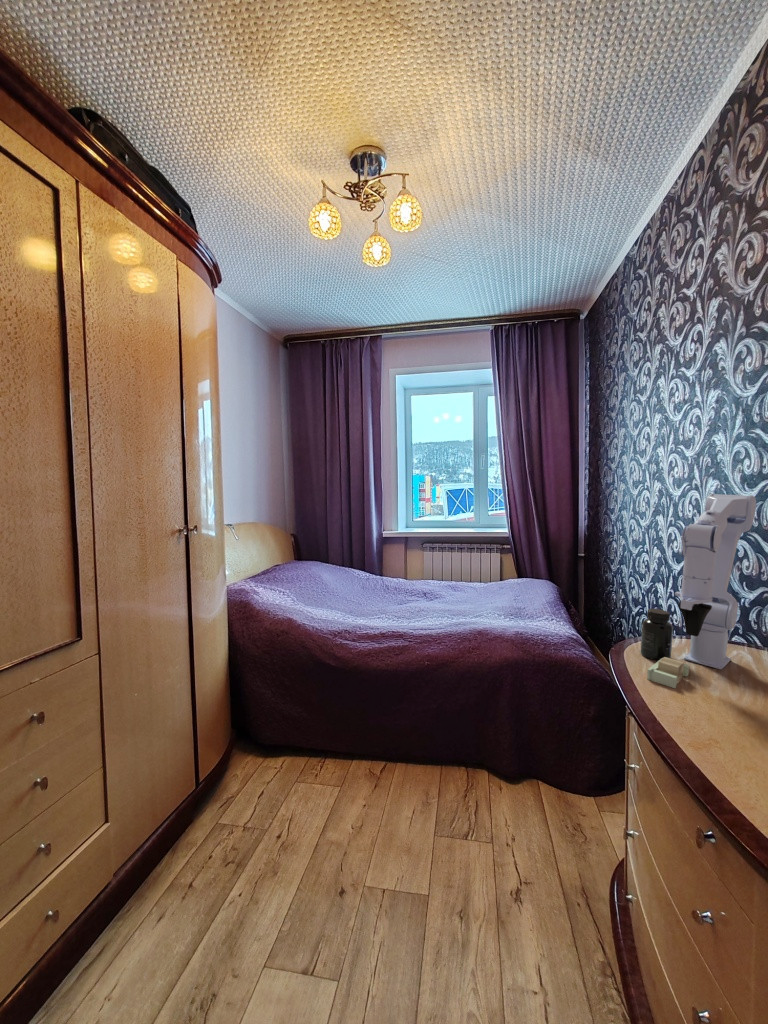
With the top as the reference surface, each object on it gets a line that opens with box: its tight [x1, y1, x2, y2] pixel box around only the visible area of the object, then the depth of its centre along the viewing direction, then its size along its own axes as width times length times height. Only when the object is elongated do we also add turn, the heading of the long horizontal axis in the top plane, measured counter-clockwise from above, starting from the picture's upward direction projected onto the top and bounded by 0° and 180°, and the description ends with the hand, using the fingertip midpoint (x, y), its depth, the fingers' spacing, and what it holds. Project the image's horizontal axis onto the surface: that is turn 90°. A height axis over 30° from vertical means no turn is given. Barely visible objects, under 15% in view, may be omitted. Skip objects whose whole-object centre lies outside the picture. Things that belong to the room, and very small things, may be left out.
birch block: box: [657, 657, 685, 684], centre depth 104 cm, size 4×4×4 cm
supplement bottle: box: [640, 608, 674, 662], centre depth 116 cm, size 7×7×12 cm
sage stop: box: [646, 659, 690, 689], centre depth 104 cm, size 10×6×2 cm, turn 131°
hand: (692, 634), depth 103 cm, fingers closed
